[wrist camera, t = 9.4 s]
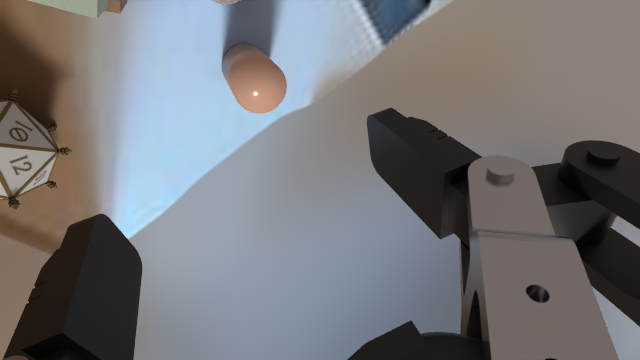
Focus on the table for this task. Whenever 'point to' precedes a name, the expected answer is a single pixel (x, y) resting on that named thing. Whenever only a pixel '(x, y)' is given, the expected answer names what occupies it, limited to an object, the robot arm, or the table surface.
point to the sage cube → (78, 6)
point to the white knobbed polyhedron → (24, 151)
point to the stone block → (226, 1)
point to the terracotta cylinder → (253, 78)
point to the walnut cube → (116, 6)
